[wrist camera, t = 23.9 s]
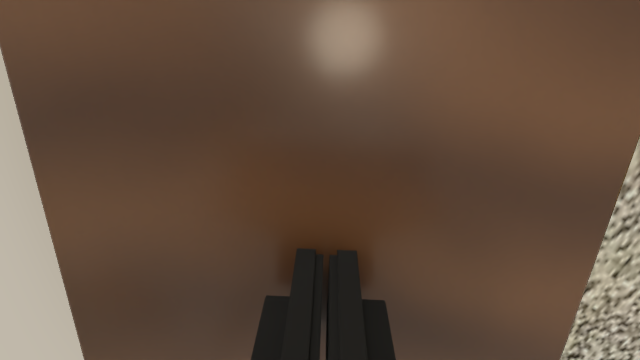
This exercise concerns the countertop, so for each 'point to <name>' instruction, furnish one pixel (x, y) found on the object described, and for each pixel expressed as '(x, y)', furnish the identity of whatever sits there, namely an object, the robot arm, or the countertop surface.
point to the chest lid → (325, 162)
